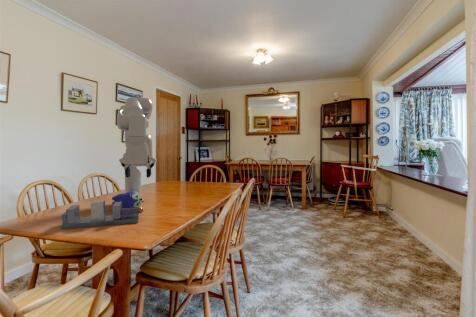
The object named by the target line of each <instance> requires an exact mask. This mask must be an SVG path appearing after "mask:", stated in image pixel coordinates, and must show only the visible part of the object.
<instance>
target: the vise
mask: <svg viewBox="0 0 476 317" xmlns="http://www.w3.org/2000/svg"><path fill="white" fill-rule="evenodd" d="M80 213H81V211H80V204H75V205H74V204H73V205H70V206H69V207H68V208H67V209H65V212H64V213H62V214H61V229H62V230H67V229H80V228H89V227H90V228H91V227H92V228H93V227H102V226H103V227H105V226H116V225H127V224H128V225H129V224H138V223H139V219H140V213H139V214H126V215H122V216H121V218H120V219H113V214H111V215H110V214H109V215H105V218H104V220H93V221H91V216H83V217H81V214H80Z"/></svg>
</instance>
